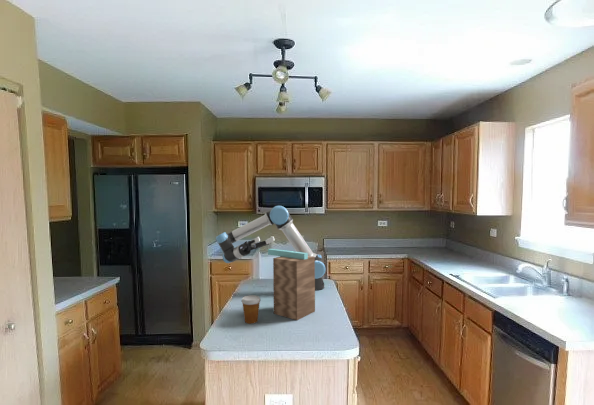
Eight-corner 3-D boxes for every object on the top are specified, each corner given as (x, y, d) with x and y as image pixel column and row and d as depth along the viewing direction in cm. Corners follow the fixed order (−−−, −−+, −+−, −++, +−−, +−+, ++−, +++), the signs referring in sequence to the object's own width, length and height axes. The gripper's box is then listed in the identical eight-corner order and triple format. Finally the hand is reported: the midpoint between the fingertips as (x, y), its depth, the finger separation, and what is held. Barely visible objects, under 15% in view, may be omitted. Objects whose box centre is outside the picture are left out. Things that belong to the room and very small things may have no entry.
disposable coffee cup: (245, 326, 156) (245, 301, 156) (239, 320, 165) (239, 296, 165) (263, 322, 161) (263, 298, 161) (256, 316, 169) (256, 294, 169)
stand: (273, 313, 174) (273, 258, 173) (292, 305, 186) (291, 254, 186) (297, 320, 164) (296, 261, 164) (315, 311, 177) (314, 256, 176)
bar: (267, 254, 185) (267, 249, 185) (271, 253, 187) (271, 248, 187) (304, 259, 169) (304, 253, 169) (307, 258, 171) (307, 253, 171)
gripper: (257, 255, 212) (281, 243, 202) (229, 257, 191) (254, 245, 181) (254, 244, 214) (277, 232, 204) (226, 245, 194) (250, 232, 183)
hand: (266, 238), depth 192 cm, fingers open, 13 cm apart
